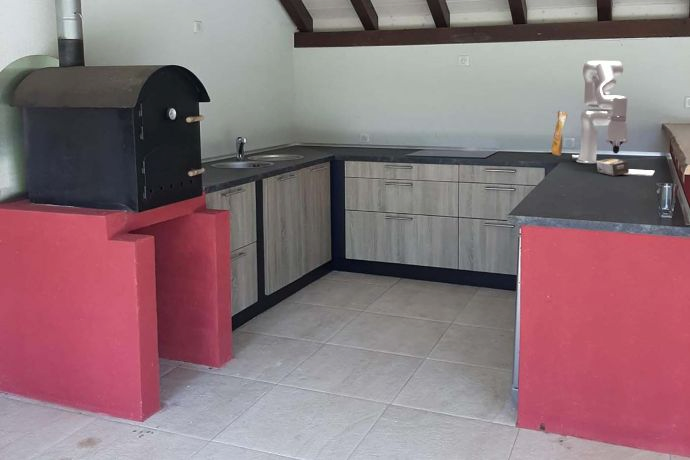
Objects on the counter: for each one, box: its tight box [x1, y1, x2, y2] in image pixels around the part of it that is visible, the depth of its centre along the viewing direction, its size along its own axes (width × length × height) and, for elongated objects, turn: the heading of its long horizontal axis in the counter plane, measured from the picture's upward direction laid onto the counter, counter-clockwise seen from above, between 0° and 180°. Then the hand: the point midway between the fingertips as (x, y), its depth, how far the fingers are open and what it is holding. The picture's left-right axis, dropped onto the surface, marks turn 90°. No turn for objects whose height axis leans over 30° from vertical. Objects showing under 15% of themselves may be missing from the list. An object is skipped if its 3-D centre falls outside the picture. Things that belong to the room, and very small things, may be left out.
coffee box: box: [596, 157, 629, 177], centre depth 393 cm, size 9×6×16 cm
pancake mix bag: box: [551, 110, 568, 156], centre depth 481 cm, size 7×19×28 cm, turn 173°
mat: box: [624, 168, 655, 177], centre depth 397 cm, size 20×16×1 cm
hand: (615, 153), depth 400 cm, fingers closed
